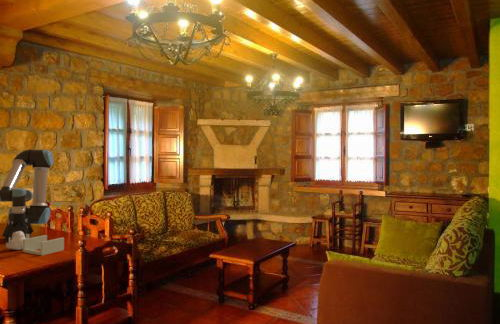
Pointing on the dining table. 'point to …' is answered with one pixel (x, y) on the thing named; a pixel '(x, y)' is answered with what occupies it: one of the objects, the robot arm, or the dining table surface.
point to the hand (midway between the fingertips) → (18, 245)
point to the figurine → (17, 240)
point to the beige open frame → (42, 245)
